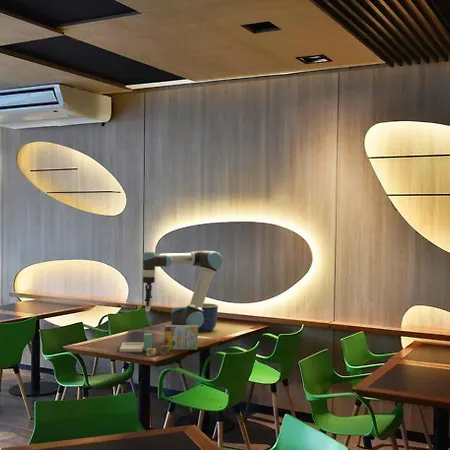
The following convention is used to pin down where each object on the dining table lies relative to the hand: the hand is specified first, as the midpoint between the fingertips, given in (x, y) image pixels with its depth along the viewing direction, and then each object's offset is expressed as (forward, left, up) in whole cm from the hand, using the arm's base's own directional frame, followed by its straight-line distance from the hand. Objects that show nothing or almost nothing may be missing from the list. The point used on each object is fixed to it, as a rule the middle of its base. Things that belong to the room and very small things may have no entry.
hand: (148, 309), depth 389 cm
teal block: (0, 0, -25) cm, 25 cm away
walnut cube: (-11, +12, -26) cm, 30 cm away
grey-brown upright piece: (-11, -17, -25) cm, 33 cm away
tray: (+10, -3, -25) cm, 27 cm away
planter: (-38, -68, -26) cm, 82 cm away
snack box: (-21, -3, -26) cm, 33 cm away
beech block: (-3, +15, -26) cm, 30 cm away
